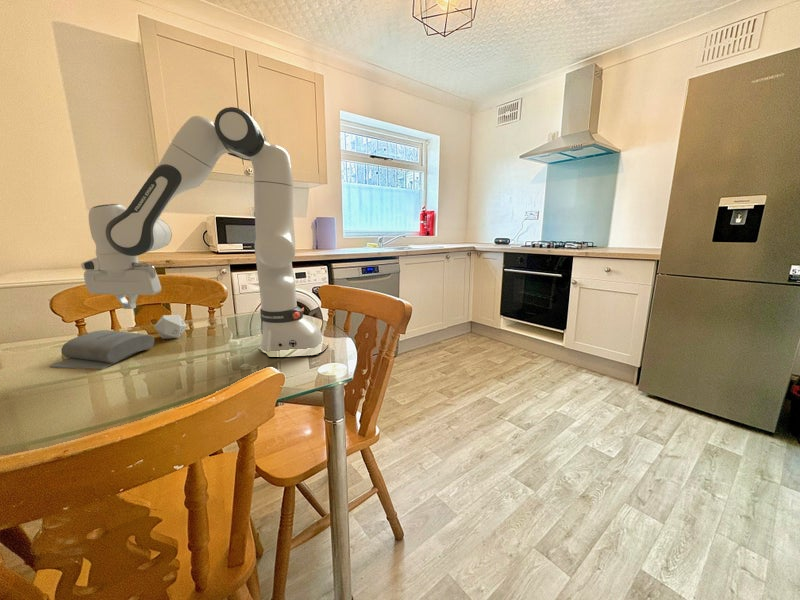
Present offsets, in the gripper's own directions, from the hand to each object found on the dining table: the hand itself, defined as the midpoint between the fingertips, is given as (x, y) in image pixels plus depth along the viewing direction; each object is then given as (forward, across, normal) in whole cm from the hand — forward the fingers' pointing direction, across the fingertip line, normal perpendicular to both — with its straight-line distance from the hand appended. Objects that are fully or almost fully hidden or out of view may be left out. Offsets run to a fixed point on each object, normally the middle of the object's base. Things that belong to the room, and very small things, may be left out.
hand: (129, 308), depth 96 cm
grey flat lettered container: (+13, +2, 0) cm, 13 cm away
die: (+16, +3, -18) cm, 24 cm away
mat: (+16, +12, 0) cm, 20 cm away
